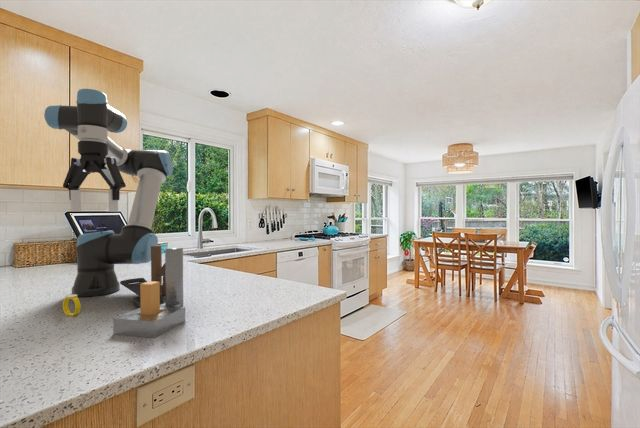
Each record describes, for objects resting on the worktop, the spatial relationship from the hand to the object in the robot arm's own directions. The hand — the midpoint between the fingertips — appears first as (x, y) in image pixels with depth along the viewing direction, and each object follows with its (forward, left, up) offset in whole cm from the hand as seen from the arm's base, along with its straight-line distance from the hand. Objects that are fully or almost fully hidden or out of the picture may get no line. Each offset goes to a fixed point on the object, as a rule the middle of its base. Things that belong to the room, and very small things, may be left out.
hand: (94, 211), depth 98 cm
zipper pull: (-11, +8, -31) cm, 34 cm away
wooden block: (-23, +6, -31) cm, 39 cm away
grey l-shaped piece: (+5, +27, -31) cm, 41 cm away
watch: (+4, -4, -31) cm, 32 cm away
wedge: (+8, +27, -31) cm, 42 cm away
